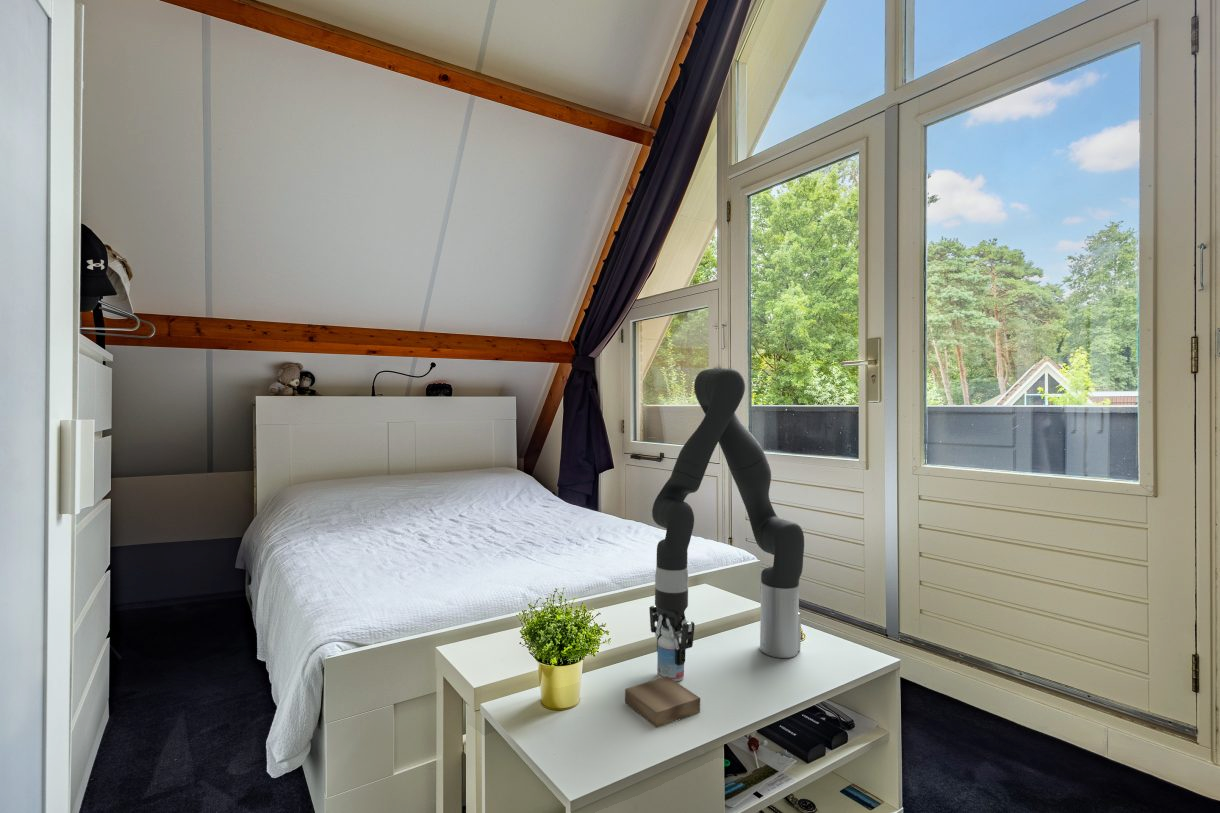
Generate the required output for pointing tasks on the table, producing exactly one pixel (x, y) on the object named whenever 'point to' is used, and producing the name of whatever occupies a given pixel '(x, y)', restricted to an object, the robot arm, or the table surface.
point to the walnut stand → (662, 701)
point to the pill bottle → (668, 657)
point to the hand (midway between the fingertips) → (670, 658)
